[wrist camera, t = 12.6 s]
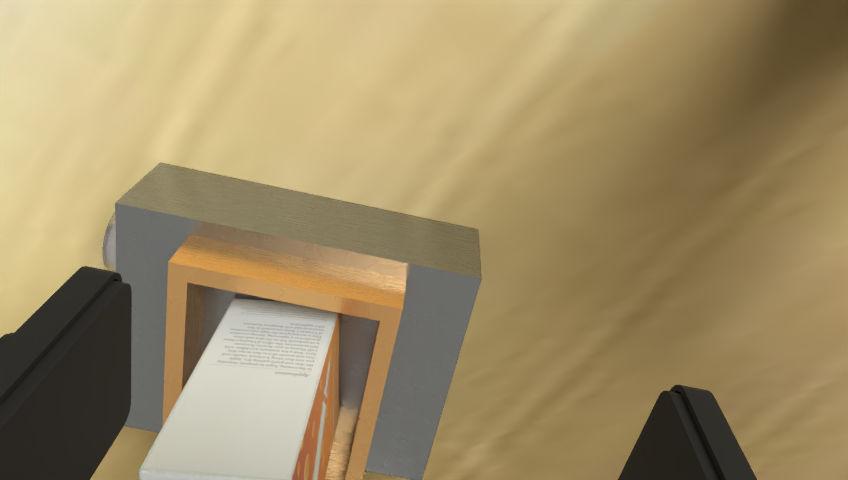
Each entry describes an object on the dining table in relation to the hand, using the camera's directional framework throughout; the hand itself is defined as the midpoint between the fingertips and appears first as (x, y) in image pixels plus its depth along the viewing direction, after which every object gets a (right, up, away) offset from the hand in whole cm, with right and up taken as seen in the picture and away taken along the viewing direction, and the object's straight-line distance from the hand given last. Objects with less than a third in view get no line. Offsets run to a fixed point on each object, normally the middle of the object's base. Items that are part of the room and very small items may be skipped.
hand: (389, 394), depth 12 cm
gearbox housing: (-7, -1, +33) cm, 34 cm away
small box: (-7, -4, +28) cm, 29 cm away
